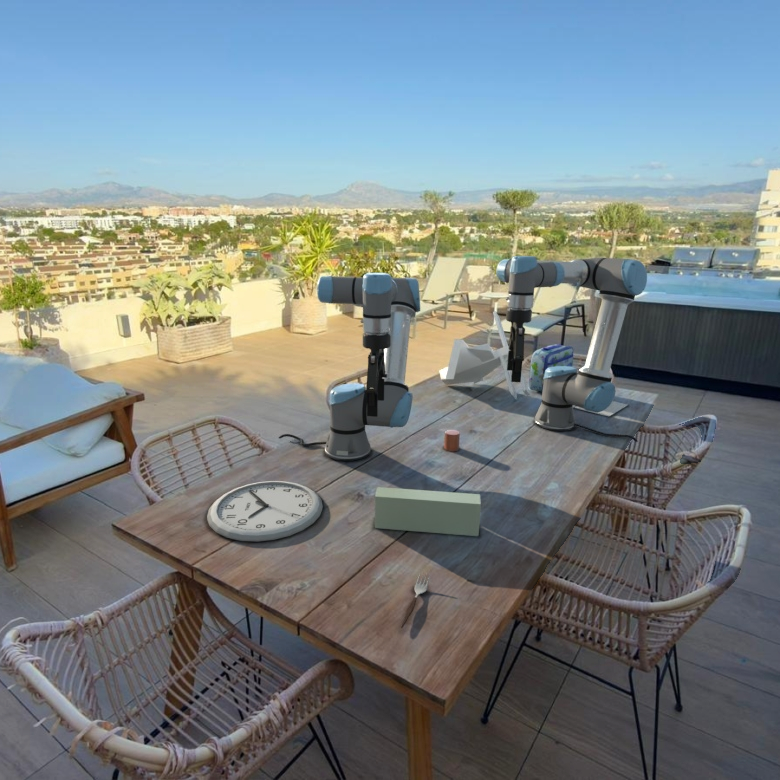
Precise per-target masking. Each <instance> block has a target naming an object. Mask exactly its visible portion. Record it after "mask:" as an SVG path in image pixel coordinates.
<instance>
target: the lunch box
mask: <svg viewBox="0 0 780 780" xmlns="http://www.w3.org/2000/svg"><path fill="white" fill-rule="evenodd" d="M530 359H531V360H530V366H529V377H528V379H529V380H528V387H529V390H531V391H536V392H541V393H542V391H543V380H544V379H543V378H544V375H545V370H546V369H547V368H549V367H555V366H570V367H573V363H574V347H572V346H568V345H562V344H551V345H547V346H545V347H541V348H539V349H536V350H534V352H533V353H532V355H531V358H530Z"/></svg>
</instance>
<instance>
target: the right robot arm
mask: <svg viewBox="0 0 780 780" xmlns="http://www.w3.org/2000/svg"><path fill="white" fill-rule="evenodd" d="M496 277H497V279H498V280H499V281H500V282H503V283H506V284H508V290H507V291H508V292H507V296H506V297H505V300H506V301H507V305H506V306H507V308H506V312H505V313H506V314H505V320H506V322H509V323H510V329H509V330H510V332H509V339H508V343H507V344H508V347H509V352H508V361H507V370H509V371H511V382H513V383H521V372H522V371H523V362H524V361H525V334H526V328H525V327H524V324H528V323H530V322H531V321H532V317H533V310H532V309H533V306H534V298H535V289H536V288H537V289H538V288H552V287H557V286H559V285H561V284H568V285H569V286H571V287H579V288H585V289H589V290H594V291H599V293H598V296H599V298H600V299H601V303H600V307H599V310H598V314H597V319H596V323H595V325H594V329H593V332H592V336H591V341H590V344H589V347H588V351H587V355H586V359H585V362H584V365H583V366H582V367H580V368H579V369H578V368H577V367H575V366H572V367H570V366H555V367H549V368H547V369H546V370H545V375H544V378H543V379H544V380H543V391H542V392H541V402H540V405H539V407H538V410H537V411H536V413H535V417H534V424H535V425H536V426H537V427H539V428H542V429H544V430H549V431H556V432H567V431H572V430H574V429H575V428H577V427H578V428H580V429H584V430H586V431H590V432H593V433H595V434H598V435H601V436H606V437H618V438H629V439H631V440H633V441H634V442H636V443H638V440H637V438H636V437H635V436H633V435H630V434H619V433H606V432H602V431H599V430H596V429H593V428H590V427H588V426H584V425H582V424H578V423H576V418H575V417H576V416H575V413H574V407H576V406H577V407H580V408H583V409H585V410H587V411H586V412H588V411H593V412H601V411H603V410H605V409H606V408H607V407H608V406H609V405H610V404H611V402H612V401H614V398H615V396H616V392H617V391H616V386H615V384H614V383H612V380H613V375H612V374H611V373H610V371H611V367H612V364H613V360H614V356H615V352H616V349H617V345H618V341H619V338H620V334H621V331H622V327H623V324H624V319H625V316H626V312H627V309H628V306H629V305H630V304H632V303H634V302H635V297H637V296H640V295H641V294H642V293H643V291H645V289H646V286H647V282H648V273H647V269H646V266H645V264H644V263H643V262H642V261H640V260H637V259H631V258H617V257H616V258H615V257H592V258H575V259H573V260H571V261H562V260H538V258H537V257H536V256H533V255H514V256H513V257H512V258H509V259H507V258H505V259H502V260H501V261H499V263H498V264H497V267H496ZM573 406H574V407H573Z"/></svg>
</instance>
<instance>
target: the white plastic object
mask: <svg viewBox="0 0 780 780" xmlns="http://www.w3.org/2000/svg"><path fill="white" fill-rule="evenodd" d="M492 315H493V319H494V321H495V324H496V325H495V326H496V328H497V332H498V335H499V338H500V342H501V345H502V347H500V348H498V349H496V350H495V349H493V348H492V347H491V346H490V344H489V343H488V342H487V343H483V344H479V345H473V346H469V345H468V343H466V342H465V340H464V339H463V338H460V339H458V338H454V340H453V344H452V349H451V353H450V357H449V362H448V366H446V367H444V368H442V369H440V370H439V371H438V372H439V376H440V381H442V383H443V384H444V385H445V386H449V385H458V384H467V383H468V384H469V383H473V384H477V383H480V382H482V381H484V378H485V377H486V376H487V375H489V374H490V373H492V372H494V371H495V370H496V369H497V368H499V367H500V366H502V370H503V373H504V376H505V380H506V383H507V386H508V390H509V393H510V394H511V395H512V397H513V398H514V399H515V400H517V392H516V391H517V390H516V388H515V385H514V382H511V377H512V374H511V370H507V363H508V352H509V347H508V344H509V343H508V341H507V337H506V334H505V331H504V328H503V325H502V321H501V318H500V315H499V314H498V312H497V311H496V310H495V311H492ZM520 385H521V389H522V391H523V393H524V395H525V396H526V397H528V396H531V395H530V389H529V388H528V387H529V386H528V384H527V381H526V378H525V375H524V371H523V370H522V372H521V382H520Z"/></svg>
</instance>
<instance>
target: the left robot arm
mask: <svg viewBox="0 0 780 780" xmlns="http://www.w3.org/2000/svg"><path fill="white" fill-rule="evenodd" d="M316 295H317V299H318V301H319V302H320V303H324V304H329V305H330V304H334V305H335V304H338V305H353V306H355V307H359V308H362V319H360V324H362V331H363V333H362V347H363V348H365V349H369V350H370V352H369V354H368V356H367V376H366V386H365V384H363V383H360V382H351V383H343V384H339V385H337V386H335V387H334V388H332V389H331V390H330V392H329V402H328V405H329V434H328V437H327V440H326V441H315V442H308V443H304V439H302V438H301V437H299V436H296V435H294V434H289V433H284V434H281V435H279V436H278V439H282V438H284V437H285V438H287V437H288V438H292V439H295V440H298V441H299V443H300V446H302V447H312V446H318V445H319V446H320V445H325V447H324V453H325V456H327V457H328V458H329V459H332V460H335V461H340V462H353V461H359V460H364V459H366V458H367V457H368V456H369V455H370V454H371V443H370V442H369V438H368V435H367V432H366V426H371V427H372V426H373V427H386V428H387V427H388V428H403V427H406V425H407V423H408V421H409V419H410V415H411V411H412V406H413V405H412V404H413V393H412V392H411V391H409V389H410V387H409V385H408V384H406V372H407V364H408V363H407V362H408V351H409V344H410V343H409V341H410V330H411V321H412V320H414V319H415V318H416V314H417V313H419V312H421V295H420V284H419V280H418V279H417V278H415V277H414V278H413V277H407V276H405V277H392V275H390V273H386V272H367V273H365V274H363V276H332V275H325V276H323V275H322V276H320V277H319V278H318V280H317V285H316Z"/></svg>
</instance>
